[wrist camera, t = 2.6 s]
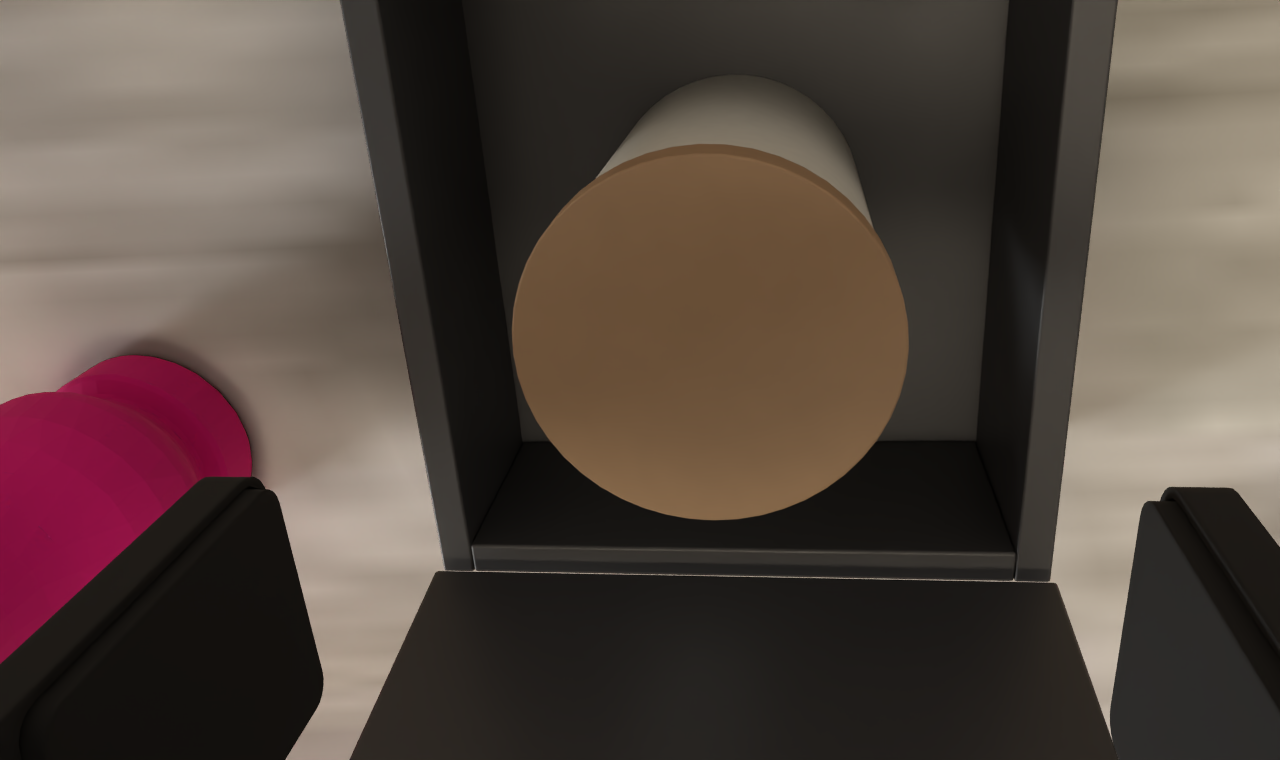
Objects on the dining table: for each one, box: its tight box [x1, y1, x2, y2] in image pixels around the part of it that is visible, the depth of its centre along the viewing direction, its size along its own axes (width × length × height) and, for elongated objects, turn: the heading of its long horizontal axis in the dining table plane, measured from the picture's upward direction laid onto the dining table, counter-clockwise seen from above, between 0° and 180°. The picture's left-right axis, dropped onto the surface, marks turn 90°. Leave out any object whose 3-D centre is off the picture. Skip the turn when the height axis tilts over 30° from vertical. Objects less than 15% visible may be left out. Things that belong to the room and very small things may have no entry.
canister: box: [512, 75, 909, 520], centre depth 21 cm, size 7×7×10 cm
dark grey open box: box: [340, 0, 1118, 582], centre depth 24 cm, size 16×15×6 cm
